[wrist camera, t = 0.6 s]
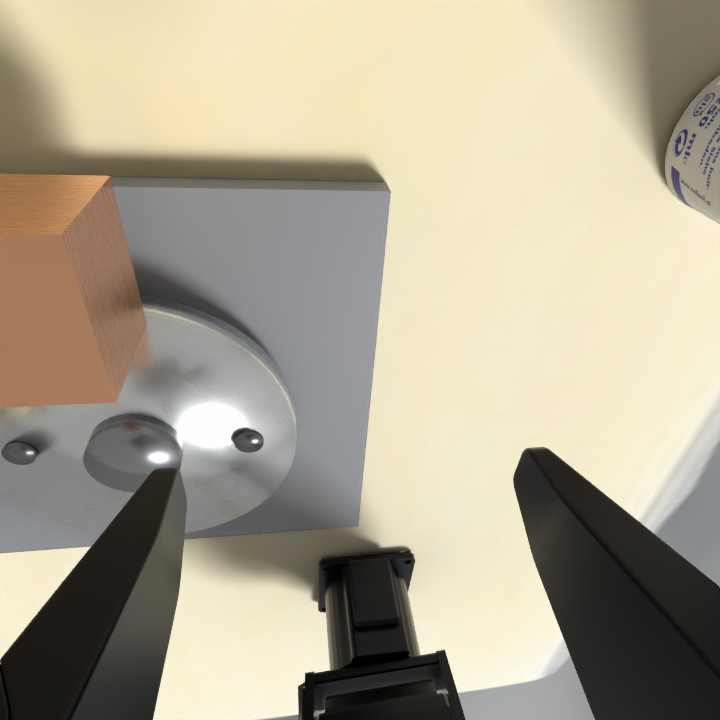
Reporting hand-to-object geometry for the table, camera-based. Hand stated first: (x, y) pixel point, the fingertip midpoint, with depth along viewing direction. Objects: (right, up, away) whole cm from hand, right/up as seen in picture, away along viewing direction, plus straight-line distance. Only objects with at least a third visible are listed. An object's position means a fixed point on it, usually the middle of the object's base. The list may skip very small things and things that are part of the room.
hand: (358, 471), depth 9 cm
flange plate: (-9, +1, +11) cm, 14 cm away
